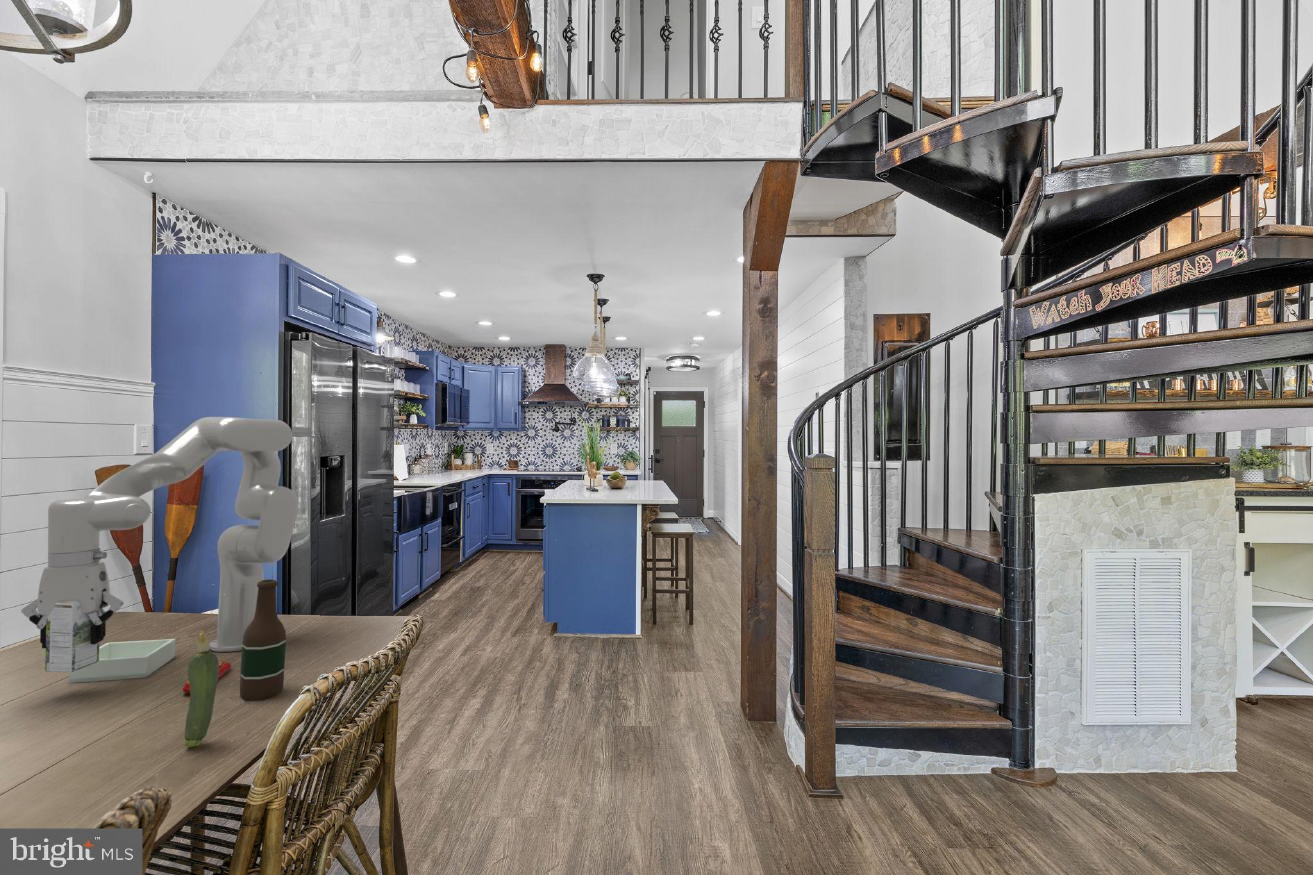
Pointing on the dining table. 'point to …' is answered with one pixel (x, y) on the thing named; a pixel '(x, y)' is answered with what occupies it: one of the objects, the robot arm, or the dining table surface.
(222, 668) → the candy bar
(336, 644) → the dining table surface
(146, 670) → the bin
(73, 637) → the syrup box
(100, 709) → the dining table surface
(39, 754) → the dining table surface
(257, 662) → the beer bottle
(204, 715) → the vegetable
